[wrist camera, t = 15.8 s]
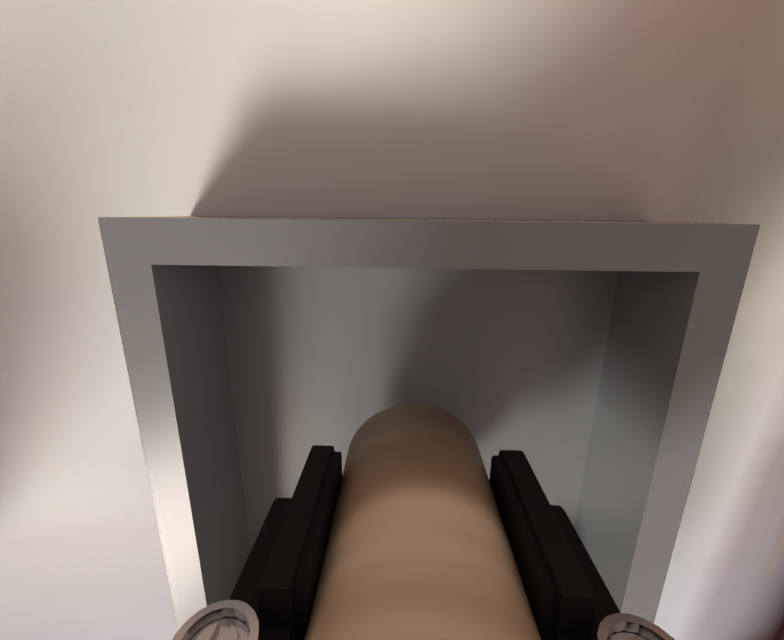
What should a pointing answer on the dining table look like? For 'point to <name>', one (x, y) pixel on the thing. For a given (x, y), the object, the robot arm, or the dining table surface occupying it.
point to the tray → (423, 365)
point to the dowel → (418, 539)
